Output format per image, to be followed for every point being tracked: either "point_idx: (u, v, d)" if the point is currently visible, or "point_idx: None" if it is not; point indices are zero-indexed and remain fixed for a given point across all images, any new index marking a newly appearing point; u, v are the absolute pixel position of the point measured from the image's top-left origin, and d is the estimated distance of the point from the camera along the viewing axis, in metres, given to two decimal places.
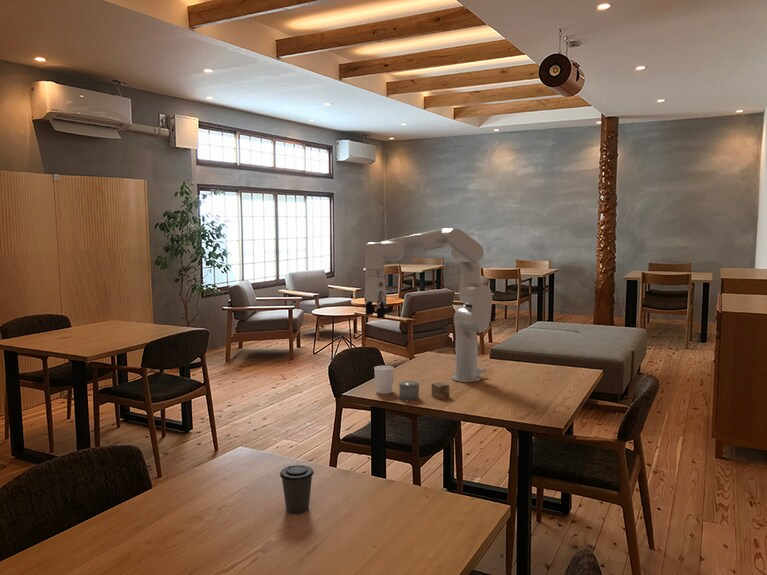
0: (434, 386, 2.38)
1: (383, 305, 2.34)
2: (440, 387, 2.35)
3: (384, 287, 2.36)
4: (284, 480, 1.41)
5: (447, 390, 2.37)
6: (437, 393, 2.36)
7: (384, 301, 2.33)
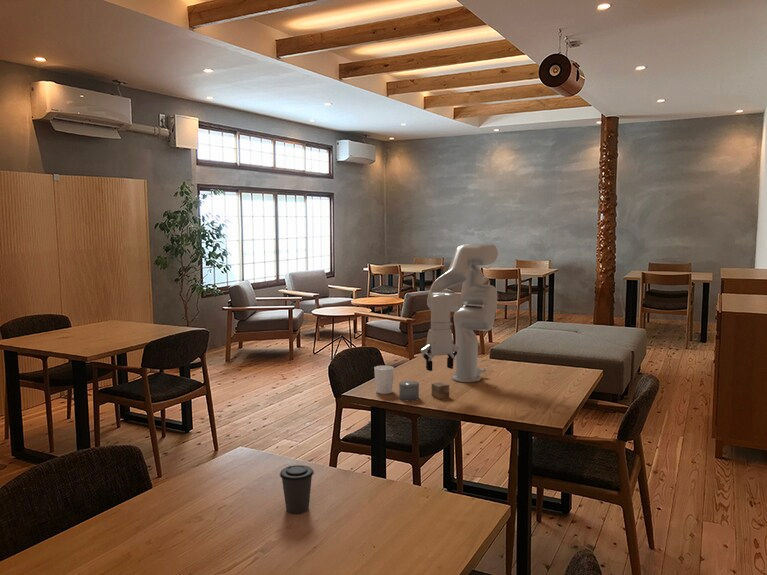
0: (434, 386, 2.38)
1: None
2: (440, 387, 2.35)
3: None
4: (284, 480, 1.41)
5: (447, 390, 2.37)
6: (437, 393, 2.36)
7: None
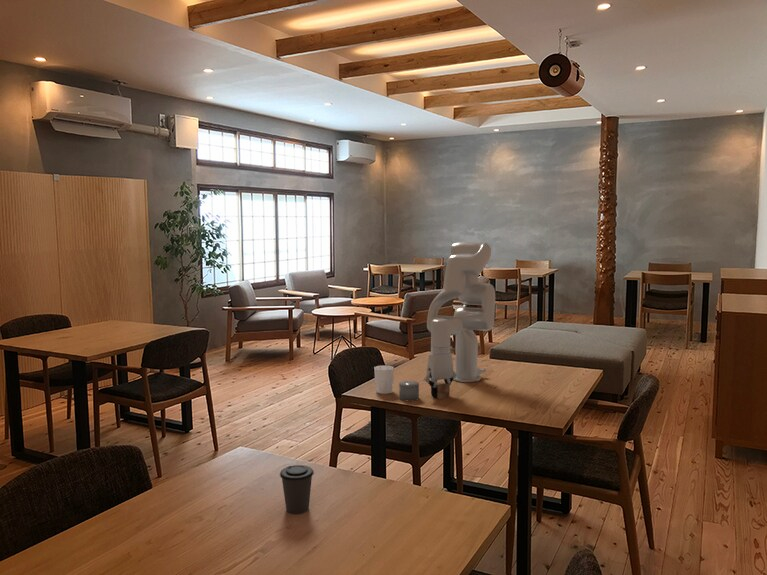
0: None
1: None
2: (440, 387, 2.35)
3: None
4: (284, 480, 1.41)
5: (447, 390, 2.37)
6: (437, 393, 2.36)
7: None
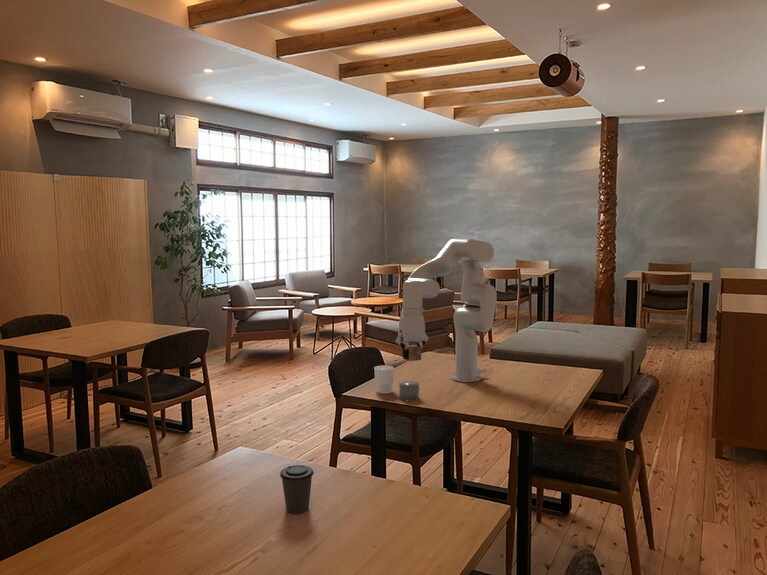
0: None
1: None
2: (412, 349, 2.32)
3: None
4: (284, 480, 1.41)
5: (419, 352, 2.33)
6: (409, 355, 2.32)
7: None
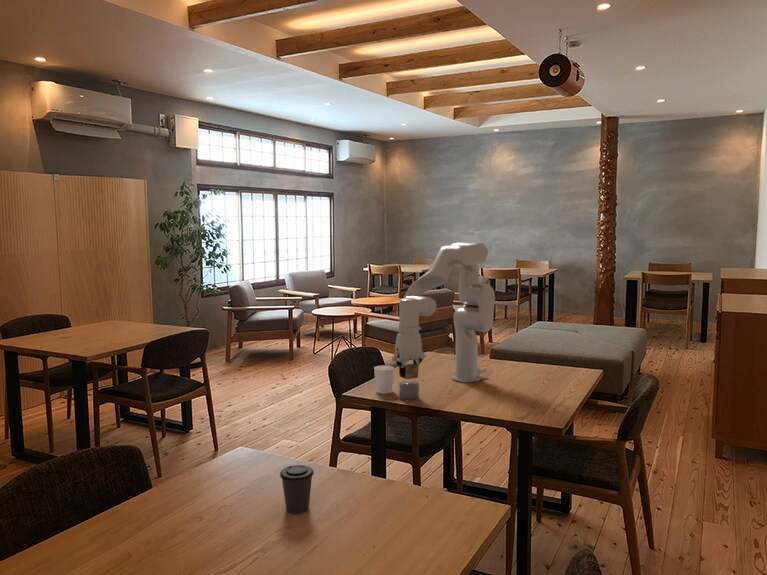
0: None
1: None
2: (408, 367, 2.32)
3: None
4: (284, 480, 1.41)
5: (415, 370, 2.34)
6: (405, 373, 2.33)
7: None
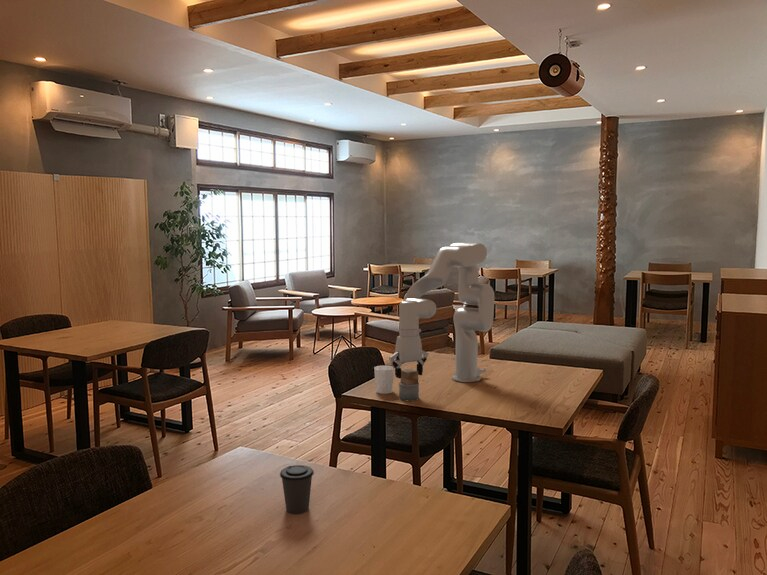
0: (403, 373, 2.35)
1: None
2: (409, 373, 2.33)
3: None
4: (284, 480, 1.41)
5: (416, 376, 2.34)
6: (406, 380, 2.33)
7: None
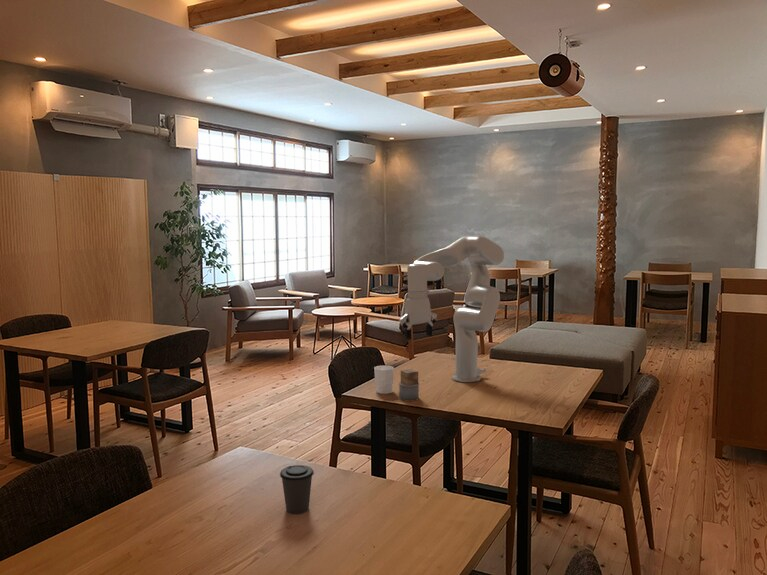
0: (403, 373, 2.35)
1: None
2: (409, 373, 2.33)
3: None
4: (284, 480, 1.41)
5: (416, 377, 2.34)
6: (406, 380, 2.33)
7: None
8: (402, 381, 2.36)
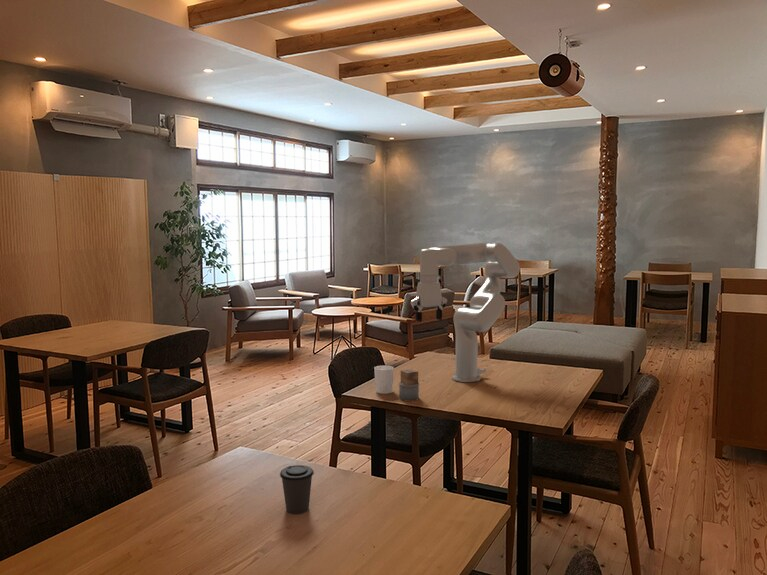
0: (403, 373, 2.35)
1: None
2: (409, 373, 2.33)
3: None
4: (284, 480, 1.41)
5: (416, 377, 2.34)
6: (406, 380, 2.33)
7: None
8: (402, 381, 2.36)
